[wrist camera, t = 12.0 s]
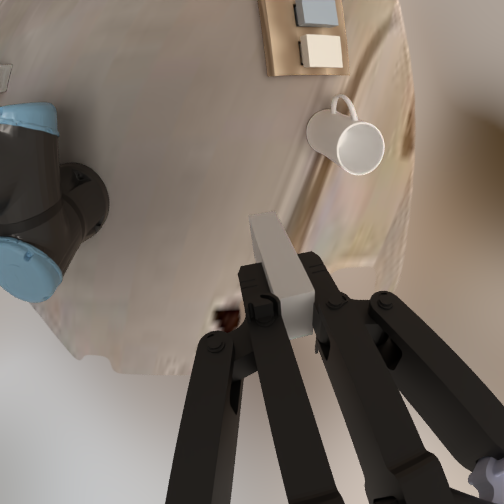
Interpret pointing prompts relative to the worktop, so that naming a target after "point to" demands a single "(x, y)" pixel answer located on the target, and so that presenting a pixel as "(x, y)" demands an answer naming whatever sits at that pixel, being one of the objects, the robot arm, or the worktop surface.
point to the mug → (346, 139)
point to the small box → (4, 76)
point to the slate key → (315, 13)
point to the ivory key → (320, 51)
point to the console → (295, 39)
